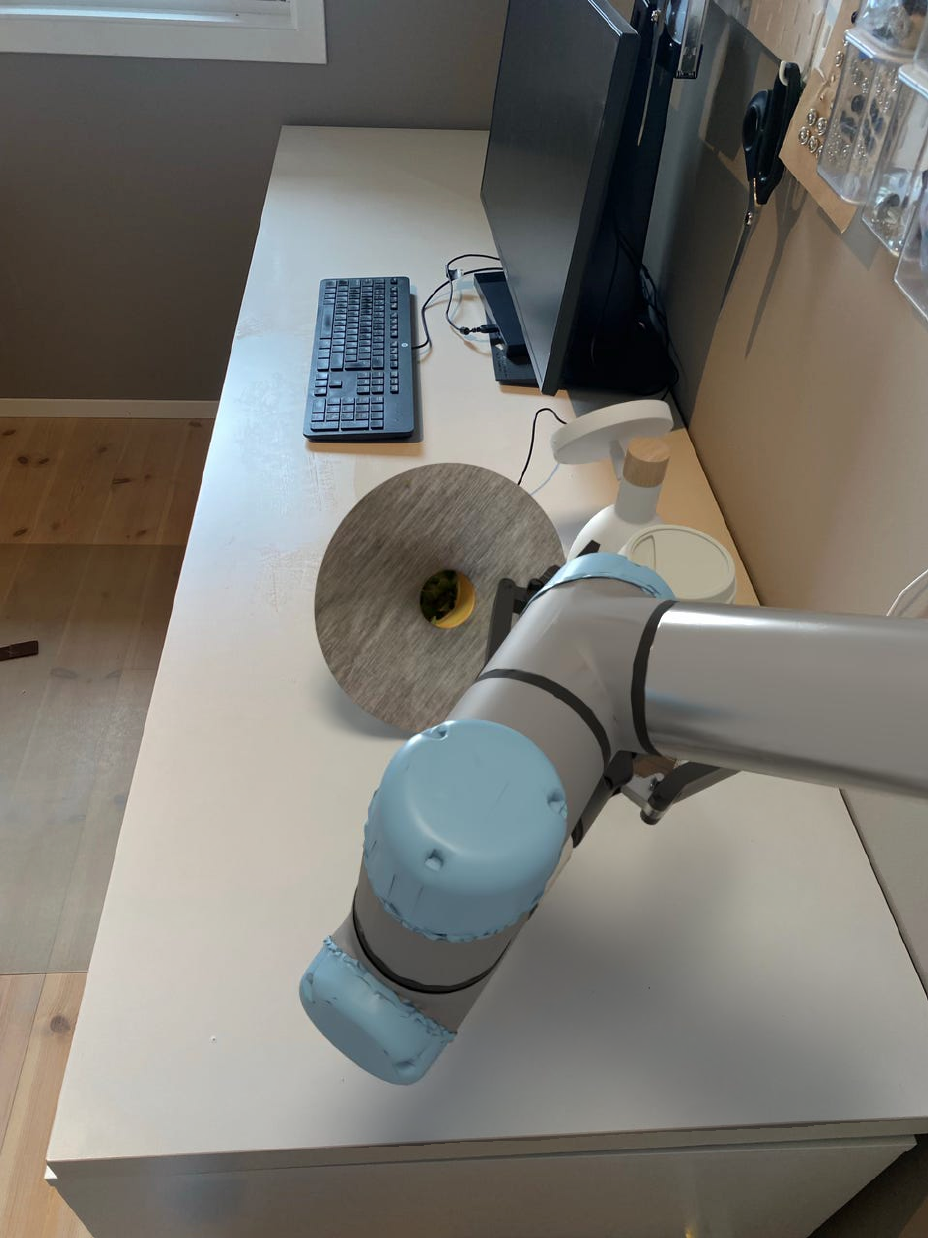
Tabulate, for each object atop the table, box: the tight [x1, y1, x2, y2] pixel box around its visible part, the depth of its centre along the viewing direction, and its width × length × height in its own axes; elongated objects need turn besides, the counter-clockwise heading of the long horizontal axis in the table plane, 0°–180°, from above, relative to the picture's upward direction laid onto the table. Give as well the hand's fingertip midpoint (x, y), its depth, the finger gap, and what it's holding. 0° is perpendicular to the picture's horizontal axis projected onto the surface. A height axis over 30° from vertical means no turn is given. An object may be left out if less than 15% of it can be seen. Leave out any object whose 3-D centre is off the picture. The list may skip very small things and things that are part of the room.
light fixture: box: [549, 399, 674, 564], centre depth 95 cm, size 13×21×20 cm
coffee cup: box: [618, 524, 738, 604], centre depth 81 cm, size 11×11×15 cm
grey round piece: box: [313, 462, 567, 733], centre depth 89 cm, size 25×18×25 cm
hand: (673, 601), depth 64 cm, fingers open, 13 cm apart
